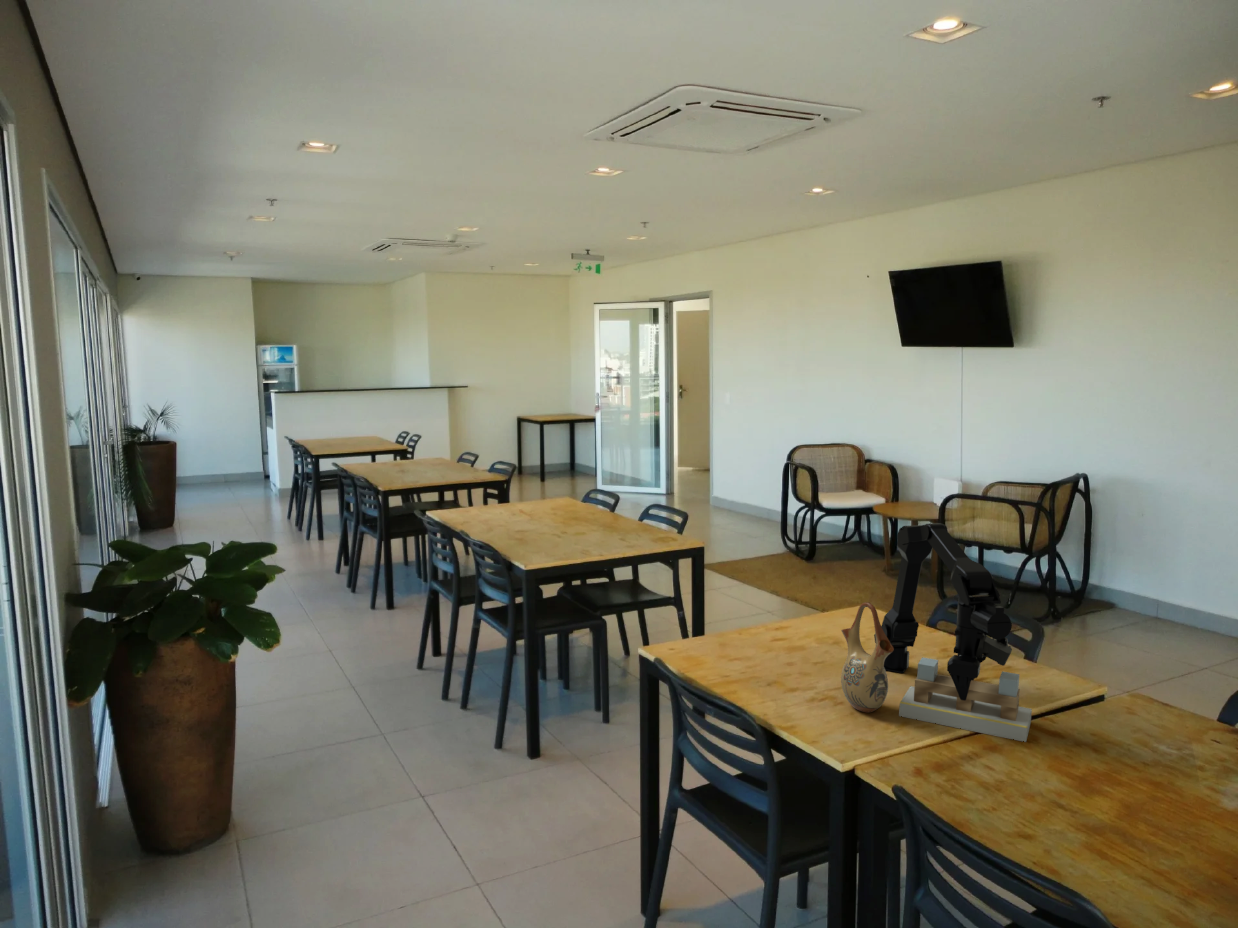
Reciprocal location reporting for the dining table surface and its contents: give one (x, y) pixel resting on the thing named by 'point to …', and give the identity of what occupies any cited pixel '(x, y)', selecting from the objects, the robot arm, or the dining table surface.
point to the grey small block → (927, 669)
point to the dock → (966, 716)
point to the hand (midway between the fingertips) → (966, 693)
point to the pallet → (975, 693)
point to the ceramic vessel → (865, 666)
